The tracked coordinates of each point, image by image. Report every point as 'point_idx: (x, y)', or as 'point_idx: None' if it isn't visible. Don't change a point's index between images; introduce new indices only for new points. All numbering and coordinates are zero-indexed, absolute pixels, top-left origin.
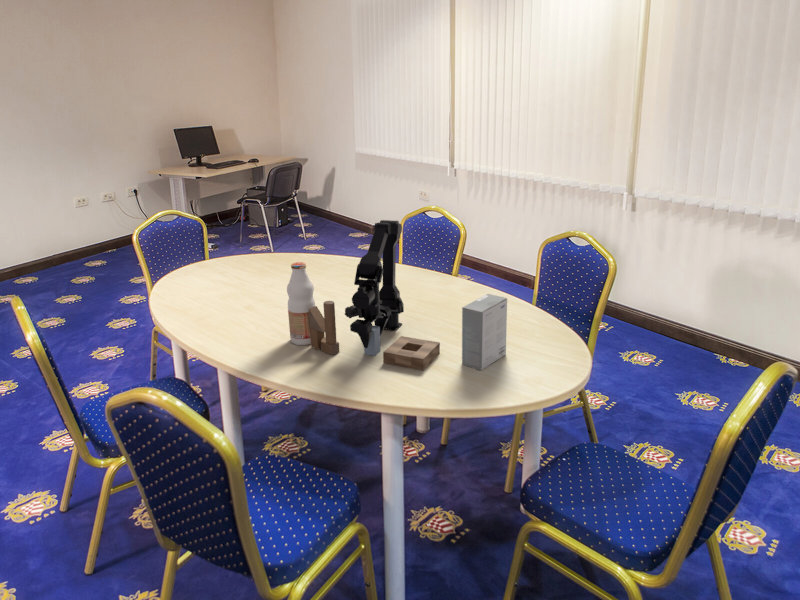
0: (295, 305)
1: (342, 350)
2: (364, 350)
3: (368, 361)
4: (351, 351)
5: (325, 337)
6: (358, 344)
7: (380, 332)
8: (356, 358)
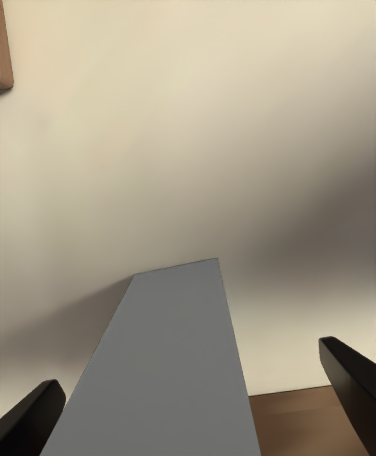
0: None
1: (60, 83)
2: (127, 290)
3: (77, 351)
4: (102, 168)
5: None
6: (246, 115)
7: (369, 451)
8: (50, 275)
